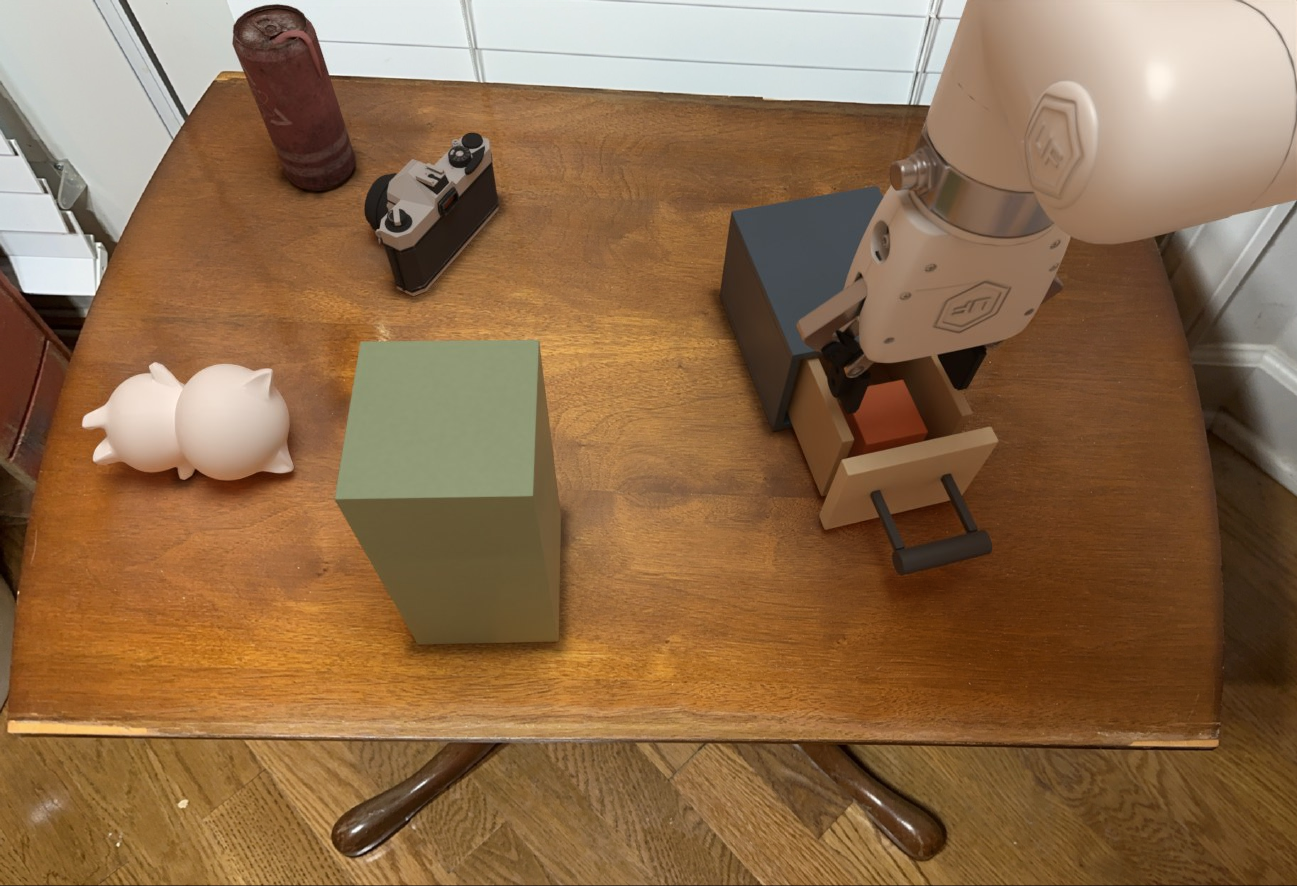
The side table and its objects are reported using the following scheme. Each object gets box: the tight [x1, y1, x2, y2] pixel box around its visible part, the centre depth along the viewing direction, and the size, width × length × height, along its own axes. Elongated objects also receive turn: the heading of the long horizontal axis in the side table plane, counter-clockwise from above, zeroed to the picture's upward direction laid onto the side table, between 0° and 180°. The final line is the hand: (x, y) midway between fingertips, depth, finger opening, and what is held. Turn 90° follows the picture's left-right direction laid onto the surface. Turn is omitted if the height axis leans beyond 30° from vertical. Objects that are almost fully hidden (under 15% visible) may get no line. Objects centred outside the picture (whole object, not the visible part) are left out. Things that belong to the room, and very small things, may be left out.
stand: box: [334, 339, 562, 646], centre depth 53 cm, size 9×9×20 cm
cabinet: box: [719, 185, 884, 432], centre depth 68 cm, size 13×11×9 cm
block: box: [839, 380, 928, 459], centre depth 63 cm, size 4×4×4 cm
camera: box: [363, 132, 500, 297], centre depth 73 cm, size 13×8×9 cm, turn 154°
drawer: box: [787, 347, 999, 577], centre depth 62 cm, size 18×10×8 cm, turn 15°
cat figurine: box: [81, 361, 295, 481], centre depth 64 cm, size 9×11×12 cm
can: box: [231, 3, 356, 192], centre depth 75 cm, size 6×6×14 cm
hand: (897, 382), depth 58 cm, fingers open, 6 cm apart
